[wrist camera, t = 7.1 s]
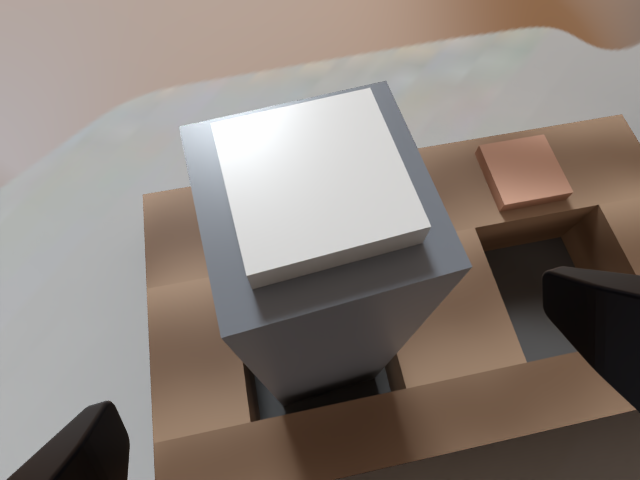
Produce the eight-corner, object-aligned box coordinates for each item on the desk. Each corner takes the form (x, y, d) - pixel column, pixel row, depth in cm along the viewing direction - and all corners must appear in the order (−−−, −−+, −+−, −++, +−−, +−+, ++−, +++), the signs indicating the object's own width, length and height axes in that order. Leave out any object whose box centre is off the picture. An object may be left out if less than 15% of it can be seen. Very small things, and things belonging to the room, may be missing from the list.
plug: (375, 378, 19) (485, 251, 6) (283, 406, 18) (212, 328, 6) (346, 291, 20) (390, 56, 8) (261, 314, 20) (169, 103, 8)
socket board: (704, 387, 19) (798, 373, 15) (186, 506, 17) (150, 524, 13) (581, 158, 24) (630, 105, 20) (168, 230, 22) (137, 187, 18)
